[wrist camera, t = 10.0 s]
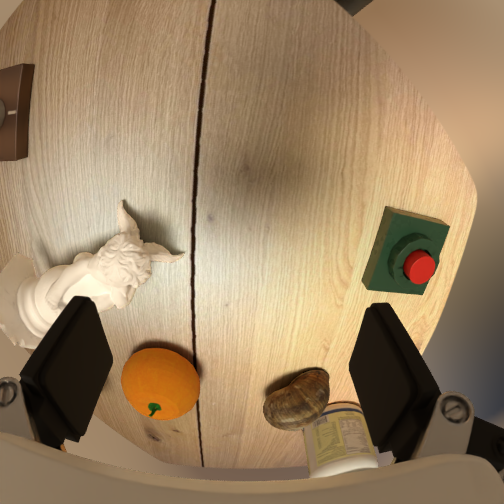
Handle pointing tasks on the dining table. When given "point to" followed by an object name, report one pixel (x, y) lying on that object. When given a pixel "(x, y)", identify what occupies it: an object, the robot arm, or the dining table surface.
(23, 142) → the dial panel
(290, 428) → the seashell
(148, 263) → the angel figurine
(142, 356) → the fruit
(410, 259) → the button
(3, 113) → the dial
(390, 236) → the box
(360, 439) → the supplement tub
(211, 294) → the dining table surface
